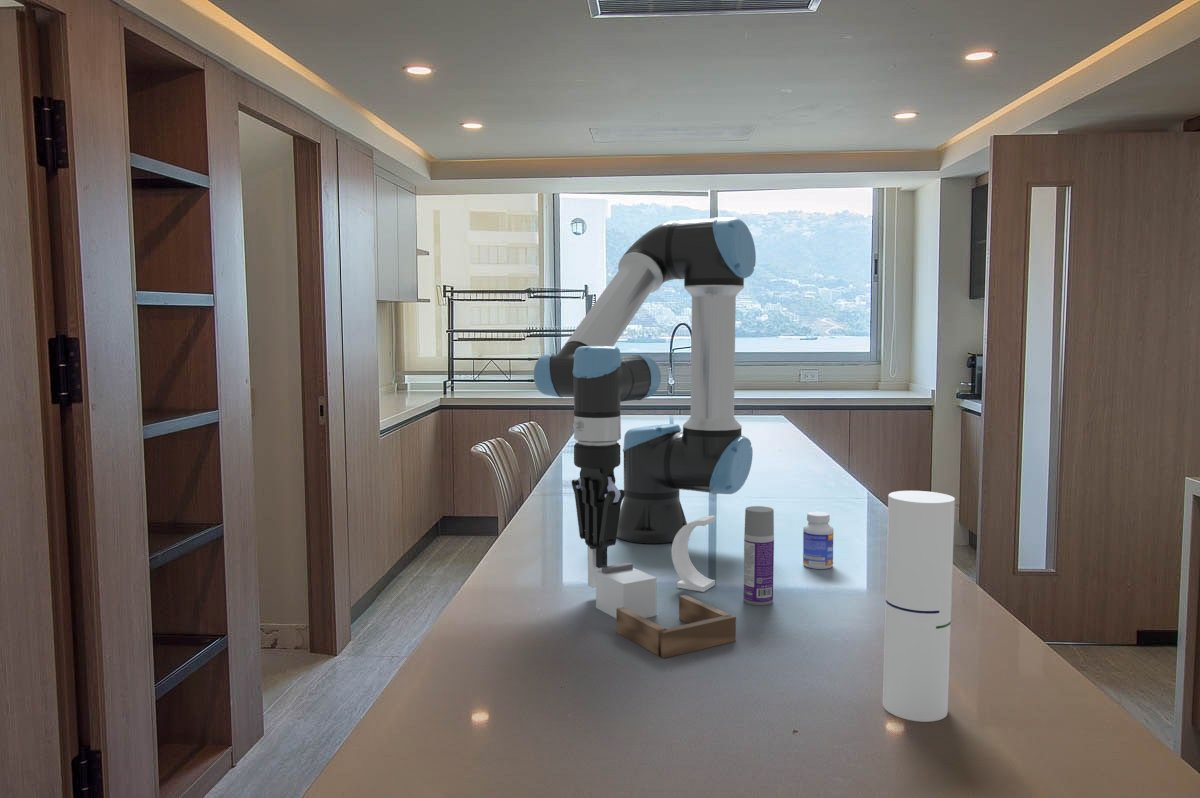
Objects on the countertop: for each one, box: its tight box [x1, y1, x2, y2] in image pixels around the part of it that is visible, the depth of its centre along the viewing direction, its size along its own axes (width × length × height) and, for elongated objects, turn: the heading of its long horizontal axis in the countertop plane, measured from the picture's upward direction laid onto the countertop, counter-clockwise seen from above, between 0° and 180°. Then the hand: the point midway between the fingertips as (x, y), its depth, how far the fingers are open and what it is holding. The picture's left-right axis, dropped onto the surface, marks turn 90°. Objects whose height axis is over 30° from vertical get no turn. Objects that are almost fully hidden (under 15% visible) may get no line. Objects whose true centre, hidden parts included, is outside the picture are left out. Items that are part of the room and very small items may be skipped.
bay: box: [615, 594, 737, 659], centre depth 128 cm, size 12×12×4 cm
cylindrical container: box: [882, 490, 956, 723], centre depth 103 cm, size 7×7×25 cm
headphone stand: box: [671, 515, 716, 593], centre depth 152 cm, size 5×6×12 cm
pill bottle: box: [802, 511, 834, 570], centre depth 164 cm, size 5×5×10 cm
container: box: [743, 505, 775, 606], centre depth 144 cm, size 5×5×15 cm
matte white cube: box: [595, 562, 658, 619], centre depth 139 cm, size 8×6×7 cm
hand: (597, 585), depth 146 cm, fingers closed
